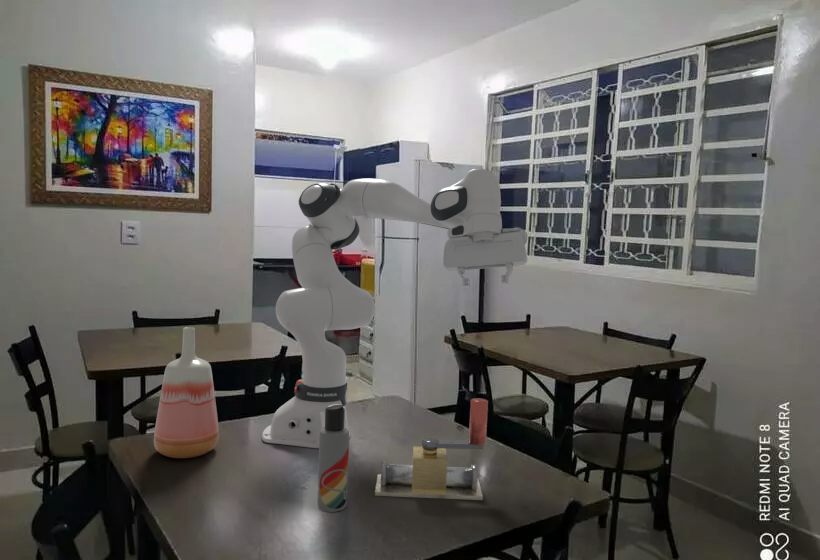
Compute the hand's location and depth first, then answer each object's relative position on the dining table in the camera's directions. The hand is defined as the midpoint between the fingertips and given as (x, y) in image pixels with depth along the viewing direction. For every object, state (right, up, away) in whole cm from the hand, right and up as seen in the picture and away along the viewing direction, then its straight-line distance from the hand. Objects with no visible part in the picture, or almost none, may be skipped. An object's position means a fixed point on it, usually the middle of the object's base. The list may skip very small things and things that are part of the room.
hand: (485, 285), depth 145 cm
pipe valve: (-14, -43, -17) cm, 48 cm away
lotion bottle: (-33, -43, -27) cm, 61 cm away
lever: (-9, -34, -17) cm, 39 cm away
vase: (-71, -40, -2) cm, 81 cm away
